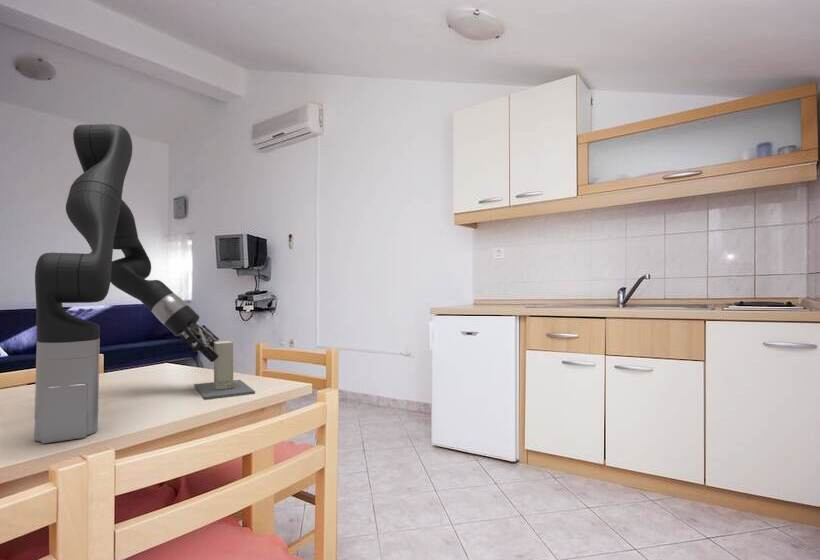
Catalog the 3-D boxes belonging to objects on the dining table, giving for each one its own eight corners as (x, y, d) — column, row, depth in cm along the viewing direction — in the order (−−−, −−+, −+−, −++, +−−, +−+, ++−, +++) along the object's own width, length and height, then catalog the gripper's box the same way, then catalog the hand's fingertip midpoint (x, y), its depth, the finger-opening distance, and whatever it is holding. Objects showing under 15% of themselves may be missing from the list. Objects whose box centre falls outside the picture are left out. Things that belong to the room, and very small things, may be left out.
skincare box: (233, 388, 116) (234, 342, 117) (215, 390, 114) (215, 343, 114) (230, 384, 122) (231, 340, 122) (212, 386, 120) (213, 341, 120)
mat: (255, 393, 113) (255, 391, 113) (204, 399, 107) (204, 397, 107) (239, 381, 129) (239, 379, 129) (194, 386, 122) (194, 384, 122)
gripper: (175, 305, 110) (223, 350, 111) (195, 303, 124) (237, 344, 125) (152, 326, 109) (200, 372, 110) (175, 322, 123) (217, 363, 124)
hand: (220, 357), depth 118 cm, fingers open, 8 cm apart
